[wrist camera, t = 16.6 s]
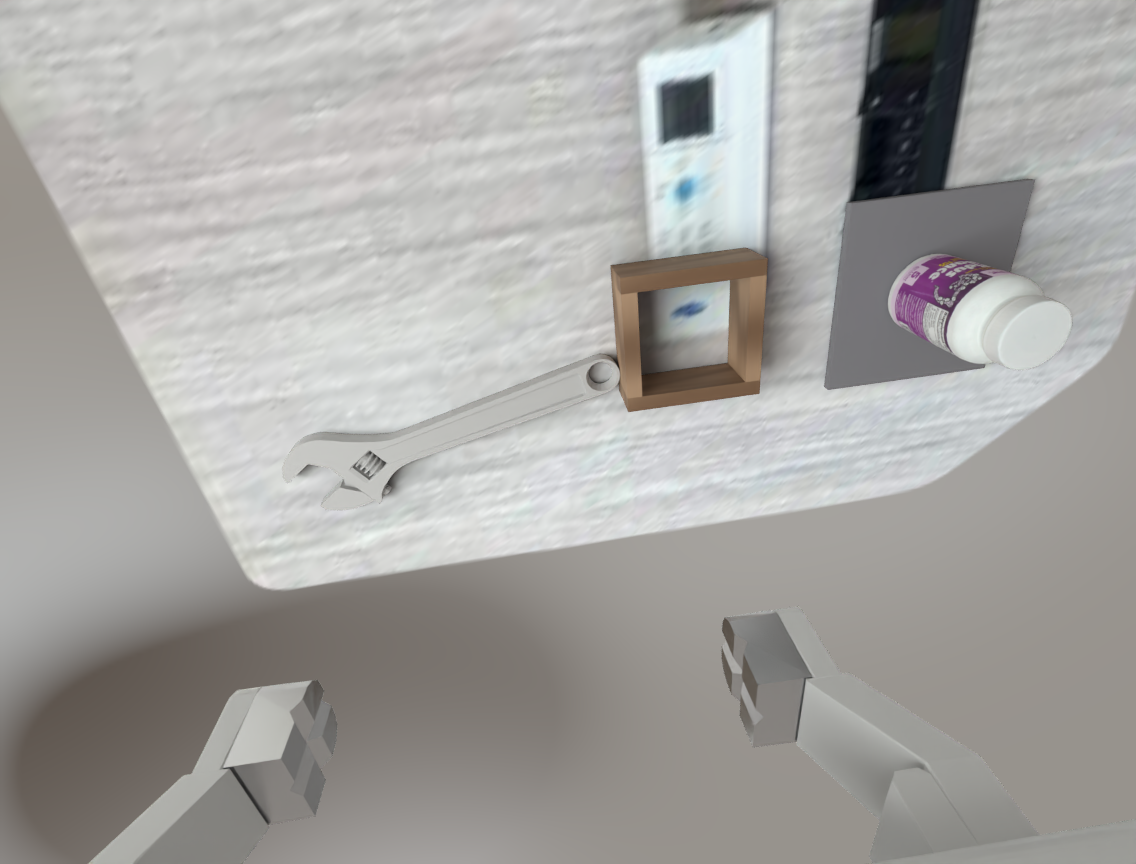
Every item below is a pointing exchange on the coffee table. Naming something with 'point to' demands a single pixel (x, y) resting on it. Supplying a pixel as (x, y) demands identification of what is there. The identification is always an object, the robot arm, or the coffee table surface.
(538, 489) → the coffee table surface
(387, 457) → the adjustable wrench
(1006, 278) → the pill bottle
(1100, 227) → the coffee table surface
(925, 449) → the coffee table surface
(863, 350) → the charcoal mat
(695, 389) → the walnut collar
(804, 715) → the robot arm
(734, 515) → the coffee table surface
